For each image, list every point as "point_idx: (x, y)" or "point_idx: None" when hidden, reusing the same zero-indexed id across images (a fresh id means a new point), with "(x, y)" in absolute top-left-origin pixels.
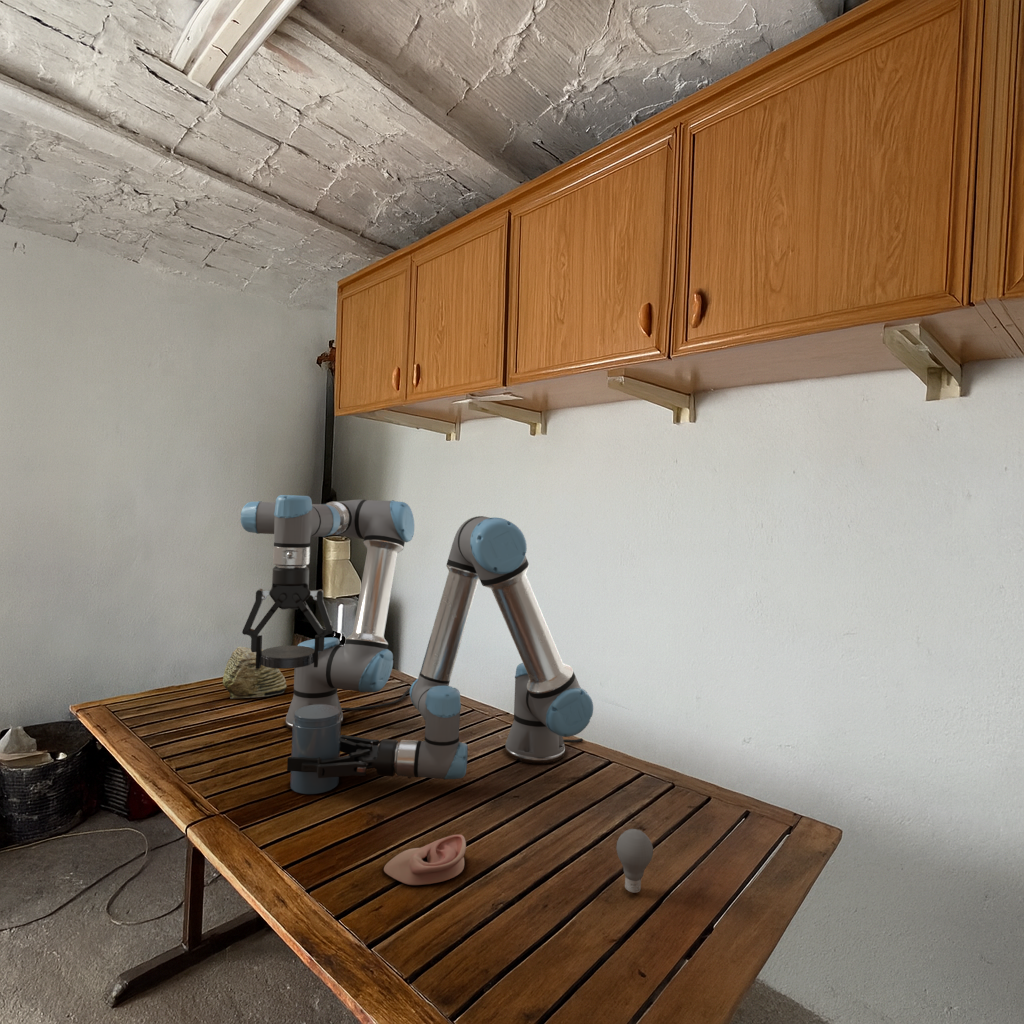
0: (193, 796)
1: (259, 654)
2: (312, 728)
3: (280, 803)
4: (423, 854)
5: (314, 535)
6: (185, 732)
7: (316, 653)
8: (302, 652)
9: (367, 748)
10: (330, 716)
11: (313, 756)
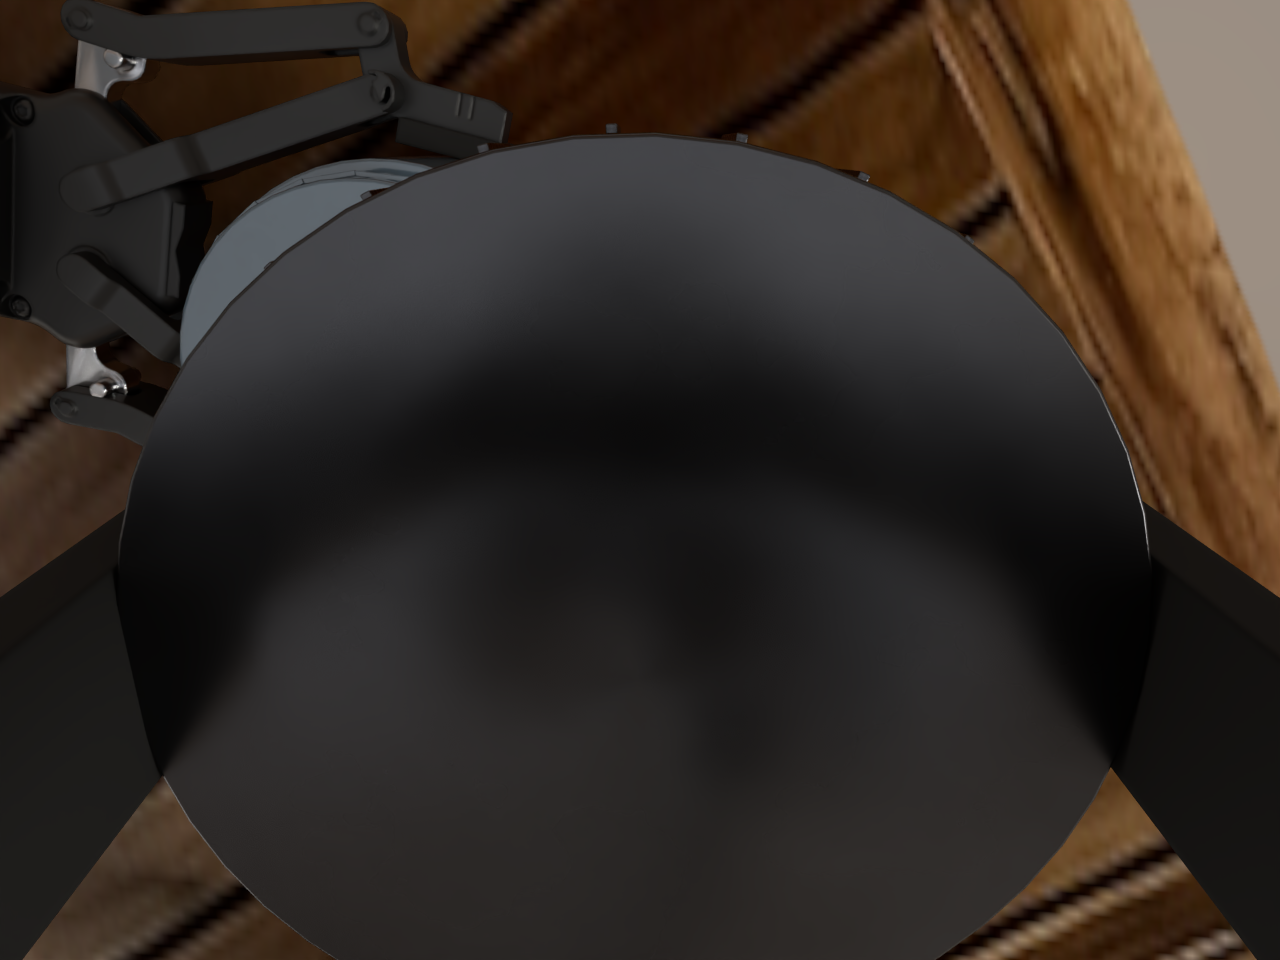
0: (1065, 222)
1: (1165, 559)
2: (399, 163)
3: (628, 67)
4: None
5: None
6: (1144, 928)
7: (75, 562)
8: (351, 604)
9: (96, 260)
10: (232, 224)
11: (433, 156)
